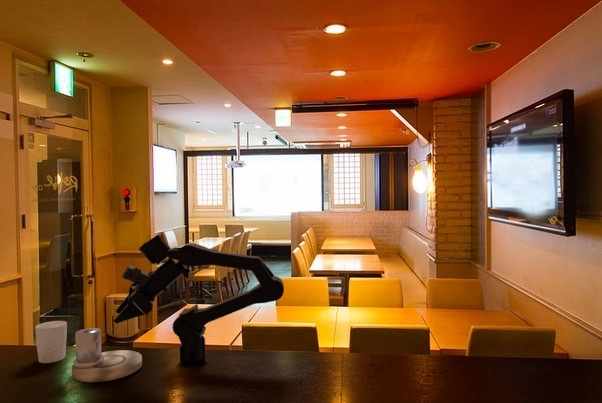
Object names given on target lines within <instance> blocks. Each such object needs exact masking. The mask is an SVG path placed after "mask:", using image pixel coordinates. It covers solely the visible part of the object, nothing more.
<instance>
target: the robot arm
mask: <svg viewBox="0 0 602 403" xmlns="http://www.w3.org/2000/svg"><path fill="white" fill-rule="evenodd" d="M138 251H139V252H140V253H141V254H142V256H144V258H145V259H146V261H148V262H149V263H150V264H151V265H157V266H158V267H157V268H156V269H155V270H150V271H149V272H148V273H147V272H145V271H143V270H142V269H140V268H138V267H137V266H133V265H131V264H128V265H127V266H126V268H125V270H124V271H123V273H122V276H121V278H122V279H123V280H126V281H129V282H131V283H130V285H129V290H128V295H127V296H126V297H125V298H124V300H122V302H121V303H120V304H119V306H118V307H117V308H116V309H115V313H116V314H118V315H117V316H116V317H115V318H114V319H113V322H114V323H115V324H119V323H120V324H121V323H122V322H125V321H129V320H132V319H134V318H138V317H141V316H145V315H146V316H147V315H149V314H150V313H151V312H153V308H154V305H153V304H154V303H153V302H154V301H155V300H156V297H158V296H159V295H161V293H162V292H166V291H167V290H168V288H169V286H171V285H172V284H173V283H174V282H176V280H178V279H179V278H180V277H181V276H182V275H183V276H184V277H185V278H186V279H188V278H190V272H191V268H189V267H199V266H200V267H201V266H216V267H224V268H232V269H238V270H244V271H251V272H252V274H253V275H254V276H255V278H256V280H257V282H258V284H256V285H255V286H254V287H253V288H251V289H249V290H246V291H244V292H241V293H239V294H236V295H234V296H232V297H229V298H227V299H224V300H222V301H220V302H217V303H214V304H212V305H210V306H207V307H203V308H201V307H200V308H199V305H198V304H195V305H193V306H192V307H189V308H188V307H187V308H183V310H182V311H180V313H179V314H178V316H177V317H176V319H174V321H173V323H172V330H173V333H174V335H176V336H177V337H178V339H179V342H180V344H178V358H179V359H178V360H179V362H180V363H181V366H182V367H189V366H195V365H205V364H206V363H207V359H206V338H205V336H204V334H205V333H206V329H207V327H206V325H207V324H208V323H211V322H214V321H216V320H219V319H221V318H223V317H226V316H228V315H231V314H233V313H236V312H238V311H242V310H243V309H245V308H246V309H247V308H248V307H251V306H253V305H256V304H257V305H258V304H267V303H271V302H275V301H278V300H280V299H282V297H283V294H284V292H285V286H284V281H283V280H282V279H281V278H280V277H278V276H276V275H274V273H273V271H271V269H270V268H269V267H268V266H267V264H266V263H265V262H264V260H263V258H261V257H260V256H258V255H247V254H246V255H245V254H239V253H233V252H225V251H219V250H214V249H211V248H208V247H207V246H203V245H201V244H197V243H194V242H193V243H192V242H189V243H187V244H185V245H182V246H181V247H176V246H175V247H173V248H171V246H170V245H168V243H167V242H166V241H165V240H164V238H163V237H162V235H161V234H156V235H155V236H154V237H152V238H151V239H149V240H148V241H146V242H144V243H143V244H141V246H140V247H138ZM167 258H168V259H167ZM166 259H167V260H166ZM165 260H166V261H165ZM176 261H177V262H176ZM161 263H162V264H161ZM160 264H161V265H160ZM159 265H160V266H159ZM187 267H188V268H187Z"/></svg>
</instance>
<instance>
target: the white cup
mask: <svg viewBox="0 0 602 403" xmlns="http://www.w3.org/2000/svg"><path fill="white" fill-rule="evenodd" d="M67 323H68V322H67V321H65V320H52V321H46V322H43V323H42V322H41V323H39V324H36V326H35V327H34V328H35V338H36V339H35V340H36V341H35V342H36V349H37V358H38V359H37V360H38V362H39V363H41V364H51V363H56V362H60V361H62V360H64V359H65V358H66V355H67V354H66V353H67V352H66V351H67V349H66V347H67V339H68V338H67V332H68V331H67V330H68V324H67Z"/></svg>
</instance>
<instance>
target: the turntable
mask: <svg viewBox="0 0 602 403" xmlns="http://www.w3.org/2000/svg"><path fill="white" fill-rule="evenodd" d="M101 355H103V356H104V363H103V364H101V365H99V366H96V367H93V368H88V369H76V368H74V363H73V364H72V366H71V377H72V379H73V380H75V381H79V382H82V383H83V382H84V383H101V382H106V381H107V382H108V381H114V380H117V379H120V378H124V377H126V376H129V375H132V374H133V373H135V372H137V371H138V370H139V369H140V368H141V367H142V365H143V357H142V354H141V353H140V352H137V351H134V350H128V349H127V350H126V349H125V350H122V349H121V350H119V349H118V350H110V351H109V350H108V351H103V352H102V351H101Z"/></svg>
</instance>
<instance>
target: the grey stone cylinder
mask: <svg viewBox="0 0 602 403" xmlns="http://www.w3.org/2000/svg"><path fill="white" fill-rule="evenodd" d="M74 334H75V336H74V337H75V359H74V360H73V364H74V368H76V369H88V368H93V367H96V366H99V365H101V364H103V363H104V356H103V355H101V353H102V330H101V328H98V327H90V328H89V327H88V328H83V329H79V330H77V331H76V332H75V333H74Z"/></svg>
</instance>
